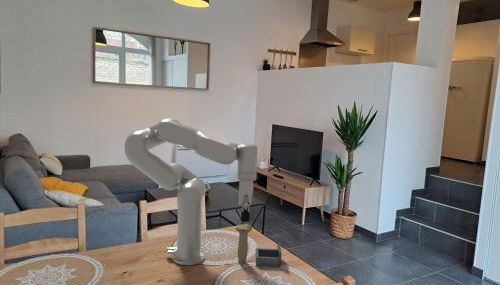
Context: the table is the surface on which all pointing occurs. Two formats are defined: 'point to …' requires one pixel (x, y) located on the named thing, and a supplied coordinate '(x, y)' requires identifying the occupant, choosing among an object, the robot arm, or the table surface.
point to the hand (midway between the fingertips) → (245, 217)
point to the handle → (243, 242)
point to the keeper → (268, 257)
